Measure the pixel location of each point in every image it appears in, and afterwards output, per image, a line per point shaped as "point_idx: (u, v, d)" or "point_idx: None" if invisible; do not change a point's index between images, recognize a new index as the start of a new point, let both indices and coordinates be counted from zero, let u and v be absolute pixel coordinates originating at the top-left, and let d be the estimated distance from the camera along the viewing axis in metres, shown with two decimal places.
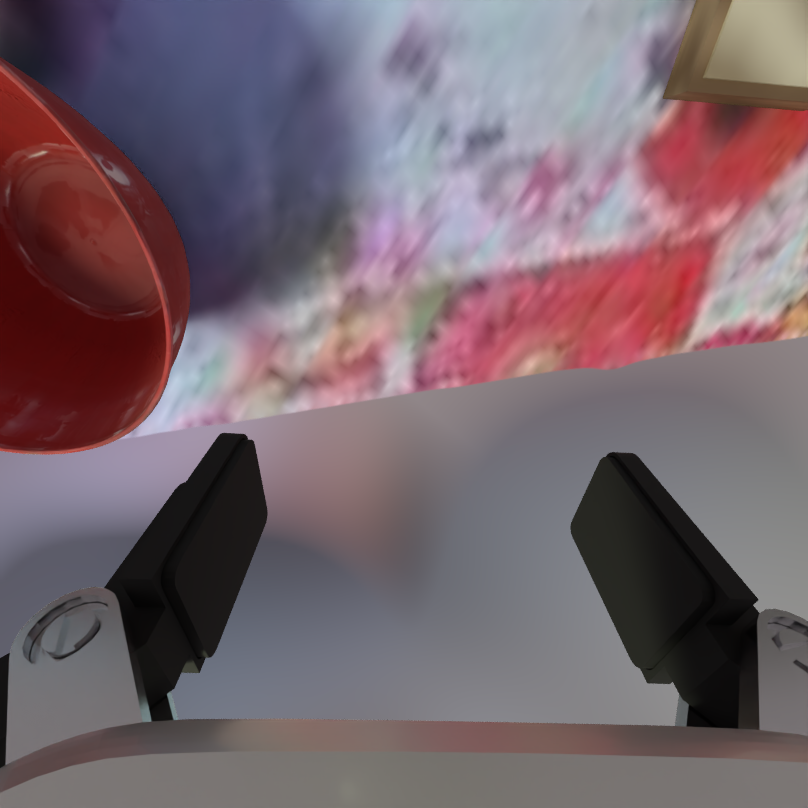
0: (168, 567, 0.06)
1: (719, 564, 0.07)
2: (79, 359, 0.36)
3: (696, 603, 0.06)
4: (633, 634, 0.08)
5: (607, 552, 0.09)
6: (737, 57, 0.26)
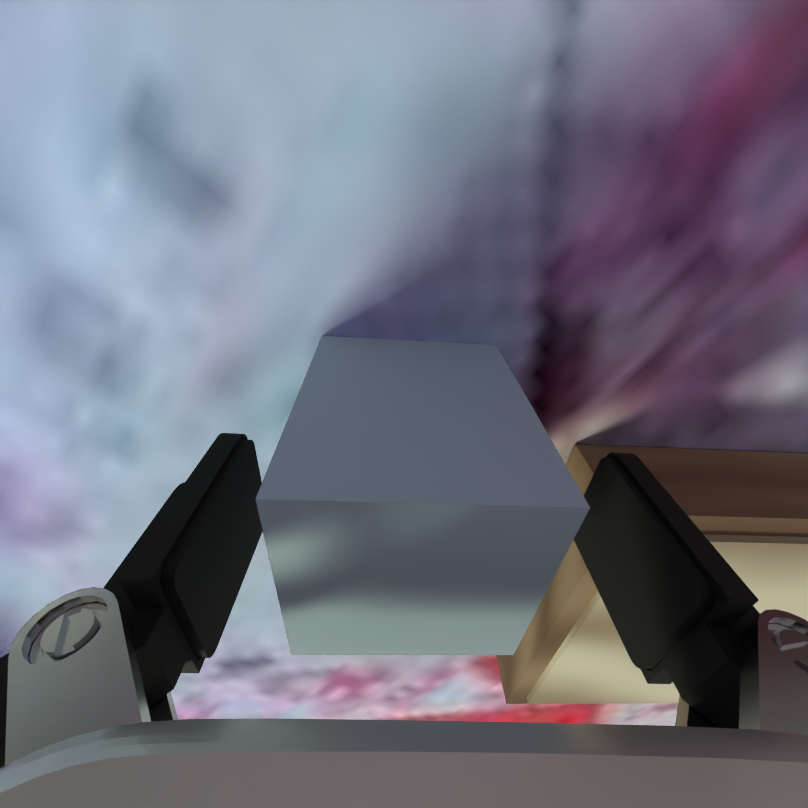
0: (167, 567, 0.06)
1: (719, 564, 0.06)
2: None
3: (696, 603, 0.06)
4: (633, 634, 0.08)
5: (606, 553, 0.09)
6: (573, 693, 0.17)
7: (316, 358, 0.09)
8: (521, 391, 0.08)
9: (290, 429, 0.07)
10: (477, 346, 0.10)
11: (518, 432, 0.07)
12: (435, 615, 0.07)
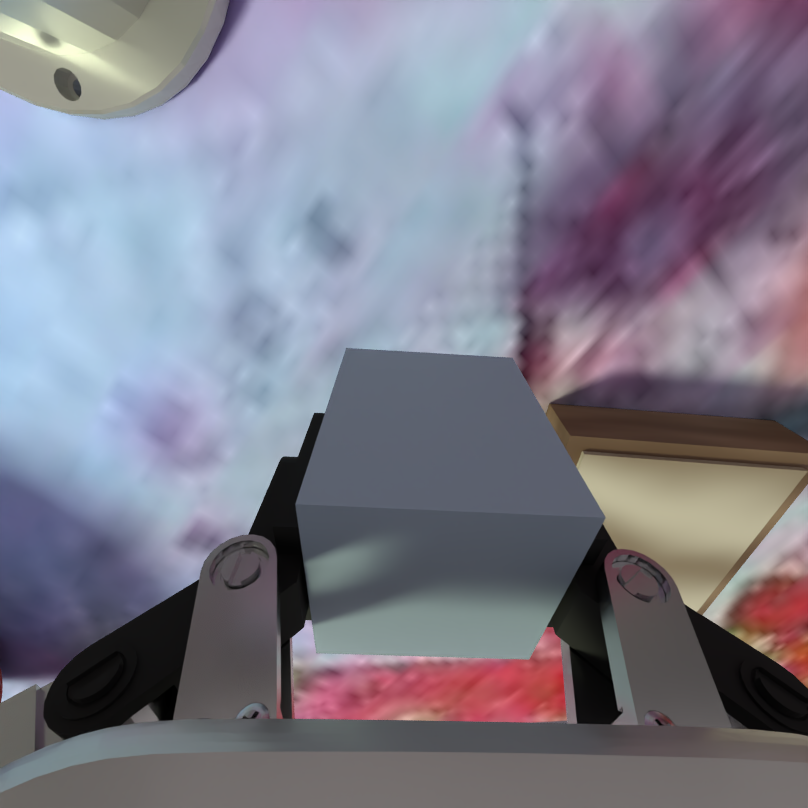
0: None
1: None
2: None
3: None
4: None
5: None
6: None
7: (342, 371, 0.10)
8: (538, 404, 0.09)
9: (322, 439, 0.07)
10: (494, 360, 0.11)
11: (536, 444, 0.07)
12: (455, 618, 0.08)
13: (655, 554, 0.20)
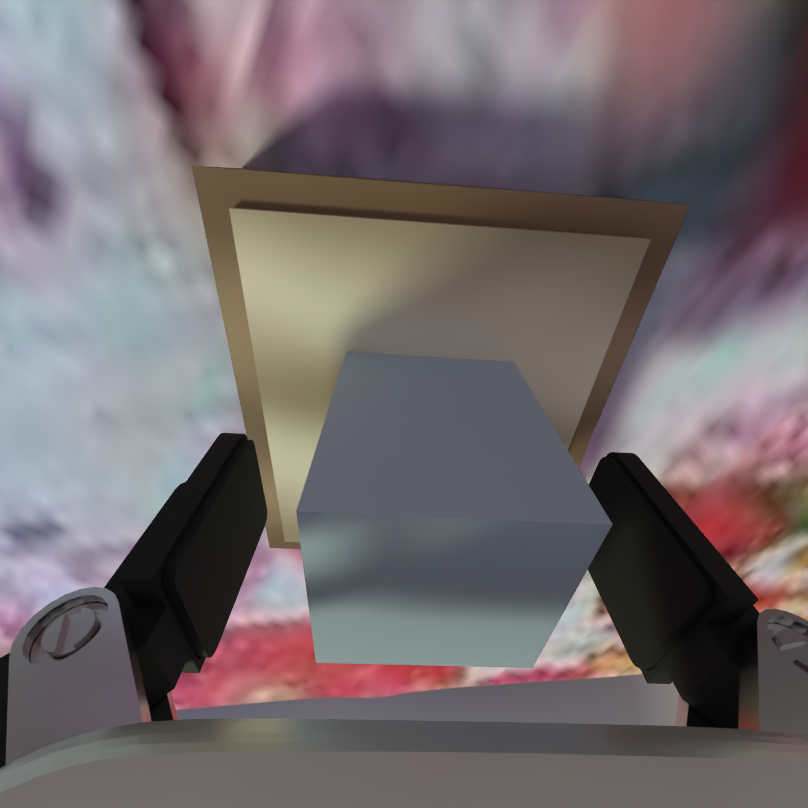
0: (168, 567, 0.06)
1: (719, 564, 0.07)
2: None
3: (696, 603, 0.06)
4: (633, 634, 0.08)
5: (607, 552, 0.09)
6: None
7: (342, 374, 0.09)
8: (540, 409, 0.09)
9: (323, 444, 0.07)
10: (495, 363, 0.11)
11: (540, 449, 0.07)
12: (458, 626, 0.07)
13: None
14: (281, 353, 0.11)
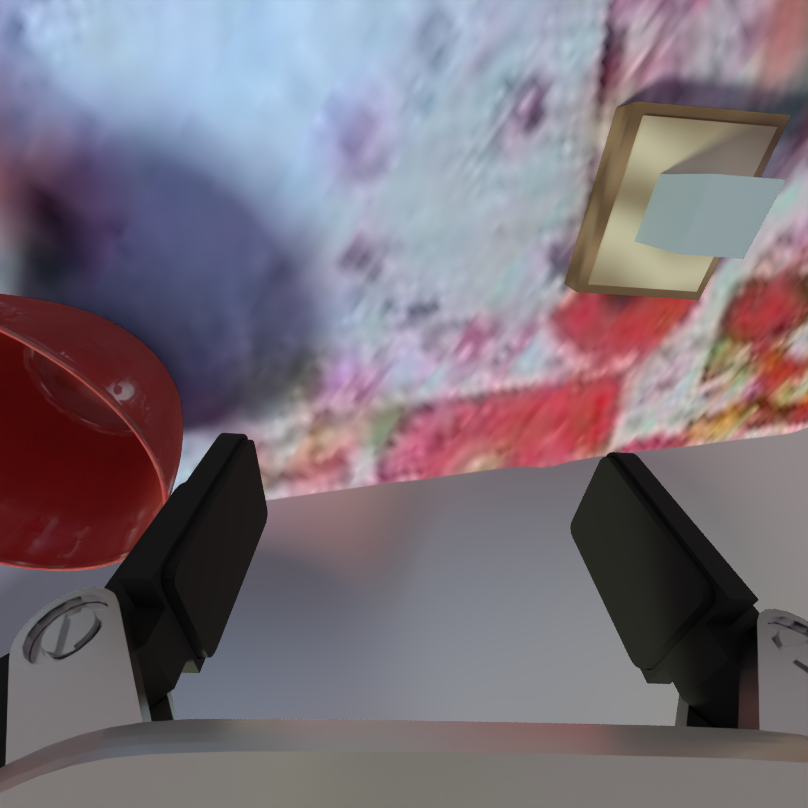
0: (168, 567, 0.06)
1: (719, 564, 0.07)
2: (90, 474, 0.43)
3: (696, 603, 0.06)
4: (633, 634, 0.08)
5: (607, 552, 0.09)
6: (612, 272, 0.33)
7: (671, 174, 0.28)
8: None
9: None
10: None
11: None
12: (730, 231, 0.26)
13: None
14: (635, 175, 0.29)
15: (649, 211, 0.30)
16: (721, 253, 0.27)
